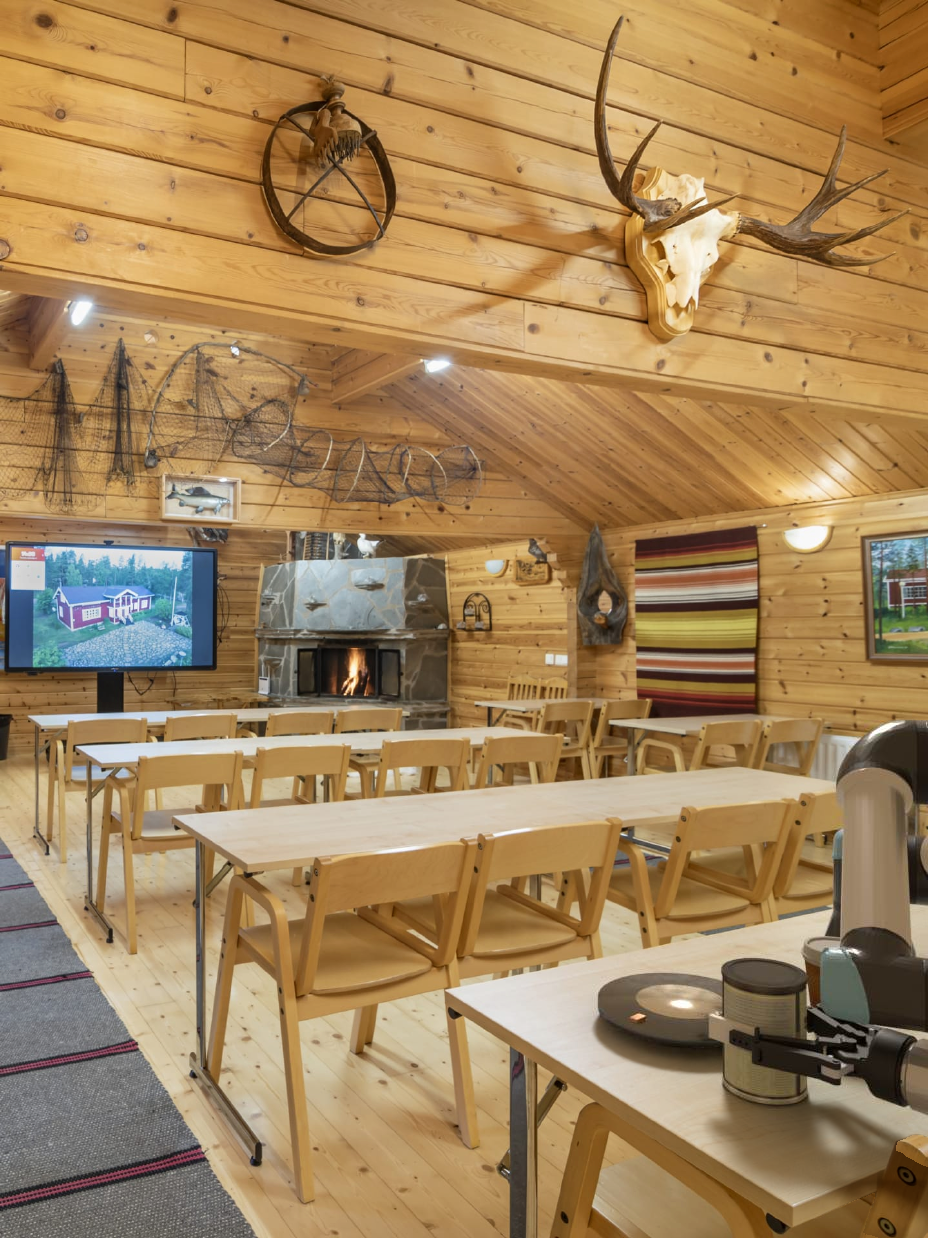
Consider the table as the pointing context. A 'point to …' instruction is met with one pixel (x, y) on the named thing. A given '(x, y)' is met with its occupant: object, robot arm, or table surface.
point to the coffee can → (764, 1025)
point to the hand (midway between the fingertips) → (733, 1014)
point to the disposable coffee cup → (816, 963)
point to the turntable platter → (663, 1007)
